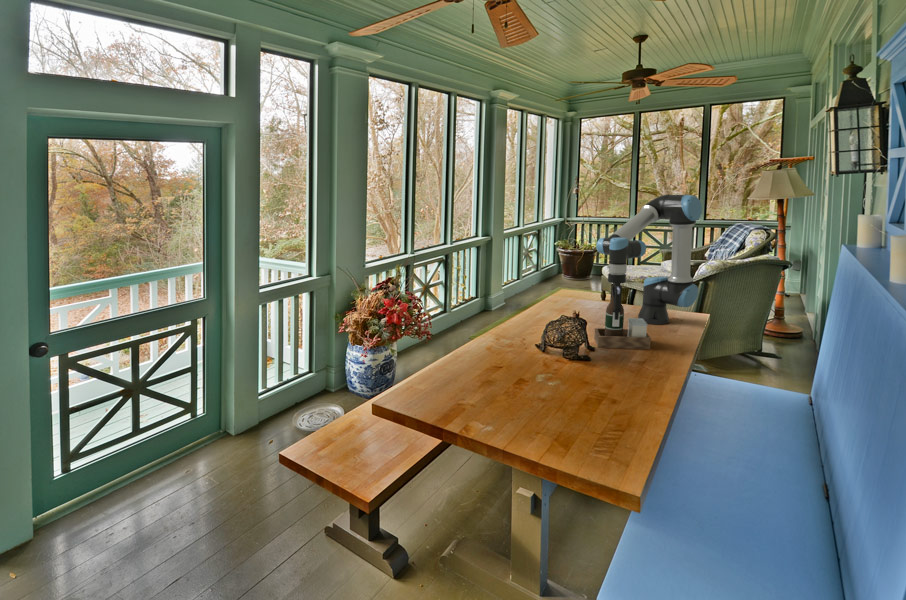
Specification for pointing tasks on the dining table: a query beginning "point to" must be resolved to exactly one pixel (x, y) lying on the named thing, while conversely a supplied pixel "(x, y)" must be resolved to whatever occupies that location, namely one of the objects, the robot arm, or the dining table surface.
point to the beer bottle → (609, 320)
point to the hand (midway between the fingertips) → (614, 323)
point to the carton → (637, 327)
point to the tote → (620, 340)
